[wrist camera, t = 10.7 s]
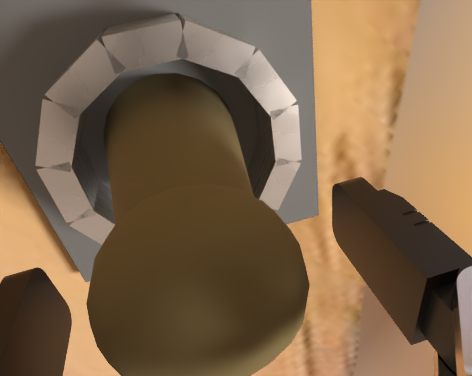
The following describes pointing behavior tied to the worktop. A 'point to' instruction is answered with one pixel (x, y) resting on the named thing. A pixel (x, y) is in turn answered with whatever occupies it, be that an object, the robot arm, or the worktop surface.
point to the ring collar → (143, 55)
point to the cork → (189, 243)
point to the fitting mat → (128, 10)
